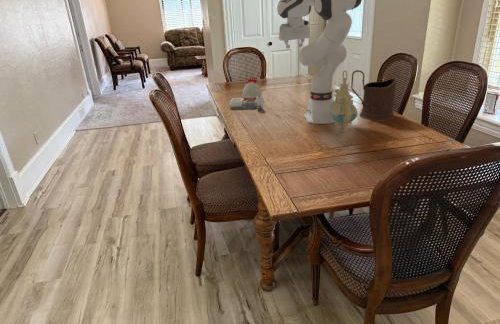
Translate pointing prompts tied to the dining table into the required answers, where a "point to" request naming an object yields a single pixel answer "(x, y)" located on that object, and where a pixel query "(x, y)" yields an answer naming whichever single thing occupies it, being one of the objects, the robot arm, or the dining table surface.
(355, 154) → the dining table surface
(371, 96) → the brown pitcher
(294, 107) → the dining table surface
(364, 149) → the dining table surface
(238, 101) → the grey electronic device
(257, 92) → the kitchen timer
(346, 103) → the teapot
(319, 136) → the dining table surface
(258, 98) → the cell
